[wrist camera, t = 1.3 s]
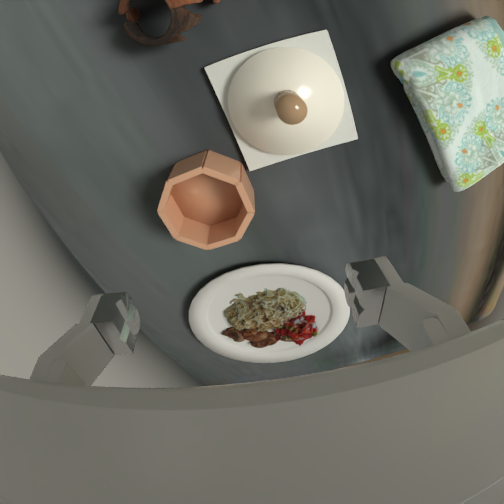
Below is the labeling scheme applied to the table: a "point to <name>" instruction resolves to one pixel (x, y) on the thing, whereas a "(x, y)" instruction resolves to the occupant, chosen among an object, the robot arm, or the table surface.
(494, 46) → the towel
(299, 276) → the plated food
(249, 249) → the table surface
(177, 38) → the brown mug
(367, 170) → the table surface
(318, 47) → the mat
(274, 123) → the lid
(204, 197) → the bowl
